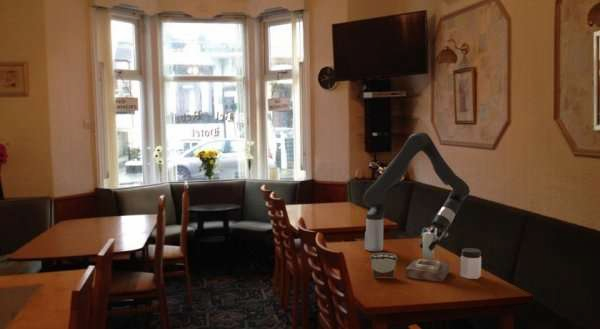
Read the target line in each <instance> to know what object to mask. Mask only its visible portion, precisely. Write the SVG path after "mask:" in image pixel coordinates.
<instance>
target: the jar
mask: <svg viewBox="0 0 600 329" xmlns="http://www.w3.org/2000/svg"><path fill="white" fill-rule="evenodd" d="M481 255H482V251H481V250H480V249H479V248H472V247H465V248H462V249H461V256H460V277H463V278H465V279H469V280H470V279H471V280H478V279H480V277H481V276H482V256H481Z"/></svg>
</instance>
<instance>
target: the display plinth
mask: <svg viewBox="0 0 600 329" xmlns="http://www.w3.org/2000/svg"><path fill="white" fill-rule="evenodd" d="M449 270H450V264H449V263H446V262H445V263H444V262H442V261H440V260H433V259H432V260H430V259H425V258H424V259H422V258H419V259H414V260H413V261H412V262H410V264H409V265H408V266H407V267H405V277H406V278H410V279H415V280H416V279H417V280H422V281H423V280H426V281H433V282H440V283H442V282H444V280H445V279H446V277H447V276H448V274H449V272H450V271H449Z"/></svg>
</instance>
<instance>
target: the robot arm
mask: <svg viewBox="0 0 600 329" xmlns="http://www.w3.org/2000/svg"><path fill="white" fill-rule="evenodd" d="M419 152H423V153H424V154H425V155H426V157H427V158H428V159H429V161H430V163H431V165H432V168H433V171H434V172H435V175H436V176H437V177H438V178H439V180H440V181H441V182H442V183H443V184H444V185H445V186H449V187H450V188H451V189H452V190H451V191H450V193H449V195H448V197H447V199H446V200H445V202H444V203H443V205H442V206H441V208H440V209H439V210H438V211H437V213H436V214H435V217H433V219H432V221H431V225H430V226H428V227H426V226H423V228H422V229H421V233H420V235H419V237H420V239H421V241H420V242H419V244H418V246H419V248H420V249H423V233H424V232H432V233H434V239H433V242H432V243H431V244H430V246H429V250H430V251H432V250H433V249H434V250H435V247H436V246H437V245H442V244H443V243H444V242H445V241H446V240H447V239H448V238H449V236H450V234H449V233H448V232H447V231H448V228H450V226H451V224H452V223H453V220H454V219H455V216H456V215H457V213H458V211H459V209H460V207H461V204H462V203H463V202H464V200H465V199H466V198H467V197H468V196H469V195H470V192H471V191H470V190H471V189H470V186H469V185H468V184H467V182H466V181H465V180H463V179H462V178H461V177H459V176H458V175H457V174H456V173H455V171H454V170H453V169H452V168H451V167H450V165H448V163H447V162H446V160H445V159H444V158H443V156H442V155H441V153H440V151H439V150H438V148H437V147H436V145H435V143H434V141H433V140H432V138H431V137H430V135H429V134H428V133H426V132H425V131H422V132H415V133H411V135H409V137H408V138H407V140H406V141H405V142H404V144H403V146H402V147H401V148H400V151H398V153H397V154H396V156H395V157H394V158H393V159H392V160H391V162H389V163H388V165H387V166H386V168H385V169H384V171H382V173H381V174H380V175H379V177H378V178H377V179H376V180H375V181H374V183H373V184H372V185H371V186H370V187H369V188H368V189H366V190H365V192H364V194H363V196H362V197H363V198H362V201H363V204H364V205H365V206H367V207H370V209H369V210H368V212H366V214H365V218H366V219H365V221H366V222H365V230H366V231H365V232H364V250H365V251H370V252H382V251H383V250H384V215H385V213H386V202H387V201H386V194H385V192H386V191H387V190H388V189H389V188H391V187H393V186H394V185H395V184H397V183H399V181H400V180H401V179H402V178H403V176H404V175H405V174H406V173H407V171H408V167H409V164H410V162H411V161H412V160H413V158H414V157H415V156H416V155H417V154H419Z"/></svg>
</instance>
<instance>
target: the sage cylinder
mask: <svg viewBox="0 0 600 329" xmlns="http://www.w3.org/2000/svg"><path fill="white" fill-rule="evenodd" d="M433 239H434V233H432V232H424V233H423V248H422V258H424V259H427V260H430V259H434V258H435V248H434V249H433V250H432V251H430V250H429V246H430V244H431V243H432V242H433Z"/></svg>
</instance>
